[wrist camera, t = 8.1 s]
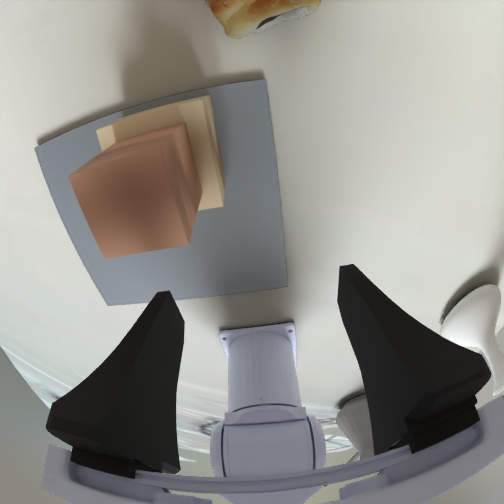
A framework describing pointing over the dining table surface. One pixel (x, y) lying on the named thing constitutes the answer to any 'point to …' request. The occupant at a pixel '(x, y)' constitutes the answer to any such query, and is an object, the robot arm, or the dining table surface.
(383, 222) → the dining table surface
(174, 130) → the terracotta block
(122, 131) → the oak block
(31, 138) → the dining table surface
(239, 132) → the slate board
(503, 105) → the dining table surface
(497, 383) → the flower in vase
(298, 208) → the dining table surface
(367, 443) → the coffee pot
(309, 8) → the pastry
